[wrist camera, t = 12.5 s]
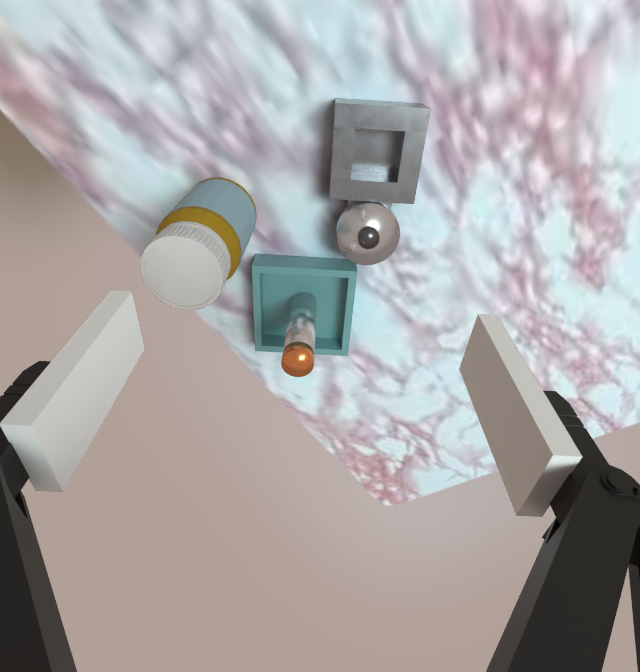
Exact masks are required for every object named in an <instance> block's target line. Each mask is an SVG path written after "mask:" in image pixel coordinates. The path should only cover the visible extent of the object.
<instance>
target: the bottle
mask: <svg viewBox="0 0 640 672" xmlns="http://www.w3.org/2000/svg"><path fill="white" fill-rule="evenodd" d="M255 223H256V209H255V205H254V203H253V201H252V199H251V197H250V195H249V194H248V193H247V192H246V190H245V189H244V188H243V187H241V186H240V185H238V184H237V183H235V182H233V181H231V180H228V179H224V178H211V179H207V180H205V181H203V182H201V183H199V184H198V185H197V186H196V187H195V188H194V189H193V190H192V191H191V192H190V193H189V194H188V195H187V196H186V197H185V198H184V199H183V200H182V201H181V202H180V203H179V204H178V205H177V206H176V207H175V208H174V209H173V210H172V211H171V212H170V214H169V215H168V216H167V217H166V218H165V219H164V220H163V221H162V222H161V224H160V225H159V228H158V230H157V233H156V236H155V238H154V239H153V240H152V241H151V242H150V243H149V244H148V245H147V247H146V248H145V250H144V251H143V254H142V257H141V262H140V270H141V275H142V278H143V281H144V282H145V285H146V286H147V288H148V289H149V290H150V292H151V293H152V294H153V295H154V296H156V298H158V299H159V300H160V301H162V302H163V303H165V304H167V305H169V306H171V307H174V308H178V309H183V310H196V309H200V308H203V307H206V306H207V305H209V304H211V303H212V302H213V301H215V299H216V298H217V297H218V296H219V295H220V293H221V291H222V289H223V286H224V284H225V282H226V281H227V280H228V279H229V278H231V277H232V275H233V274H234V272H235V271H236V269H237V267H238V265H239V263H240V261H241V258H242V256H243V254H244V251H245V249H246V247H247V244H248V242H249V240H250V237H251V235H252V232H253V230H254V227H255Z"/></svg>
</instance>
